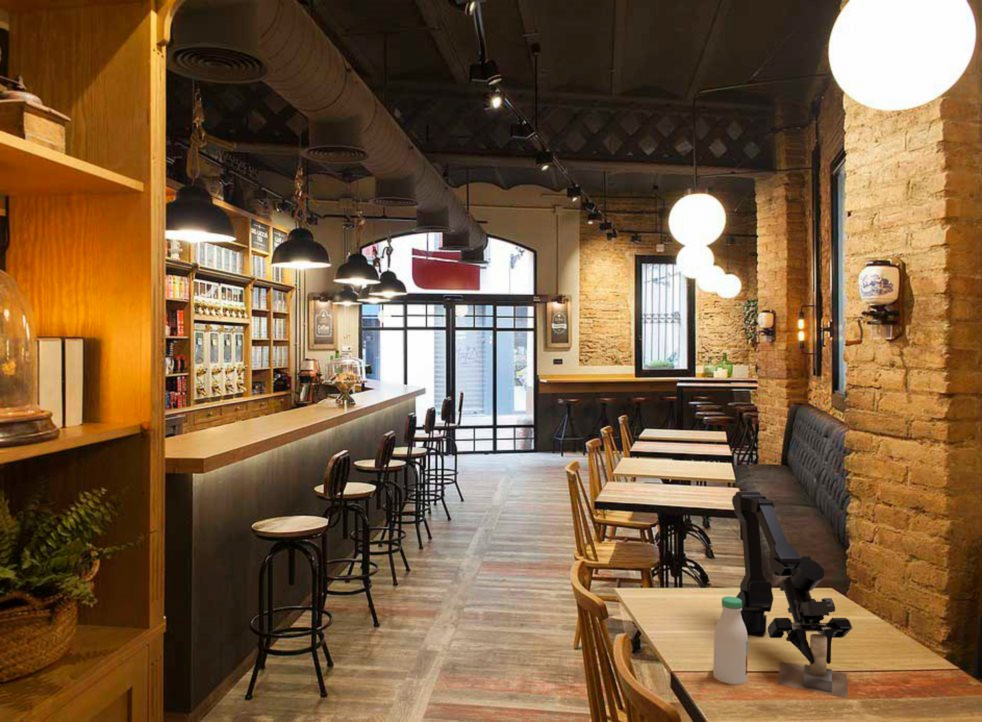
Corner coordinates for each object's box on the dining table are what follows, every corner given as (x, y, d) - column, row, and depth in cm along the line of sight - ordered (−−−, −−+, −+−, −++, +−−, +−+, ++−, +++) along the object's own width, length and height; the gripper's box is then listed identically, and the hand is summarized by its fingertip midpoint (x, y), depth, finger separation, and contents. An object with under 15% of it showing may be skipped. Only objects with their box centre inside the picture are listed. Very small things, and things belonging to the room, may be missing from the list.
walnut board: (777, 689, 169) (777, 684, 169) (780, 666, 181) (780, 661, 181) (848, 703, 162) (848, 698, 162) (846, 678, 175) (846, 673, 175)
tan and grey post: (803, 686, 168) (804, 639, 167) (804, 674, 174) (805, 629, 174) (831, 692, 165) (832, 644, 165) (831, 679, 171) (832, 634, 171)
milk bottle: (742, 692, 167) (744, 607, 167) (709, 683, 171) (711, 600, 171) (750, 679, 173) (752, 597, 173) (717, 671, 177) (719, 591, 177)
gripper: (773, 584, 173) (794, 649, 162) (849, 585, 174) (874, 649, 163) (759, 605, 181) (777, 668, 170) (831, 605, 182) (854, 668, 171)
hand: (821, 663), depth 168 cm, fingers closed on tan and grey post, 4 cm apart
